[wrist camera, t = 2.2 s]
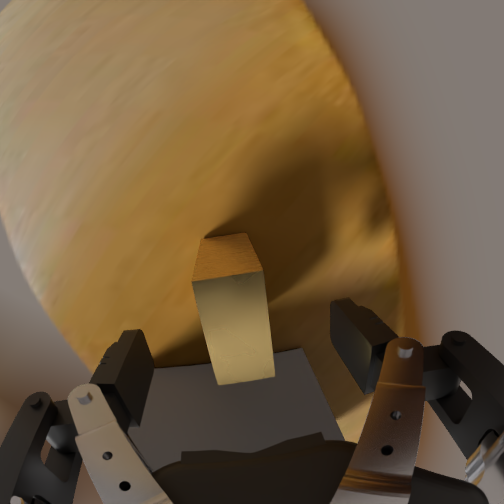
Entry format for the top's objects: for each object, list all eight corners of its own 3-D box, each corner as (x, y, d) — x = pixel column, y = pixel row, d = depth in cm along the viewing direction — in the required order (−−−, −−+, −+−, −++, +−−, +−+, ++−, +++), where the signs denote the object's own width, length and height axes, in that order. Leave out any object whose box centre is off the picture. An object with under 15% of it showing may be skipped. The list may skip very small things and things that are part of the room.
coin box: (134, 369, 17) (100, 488, 7) (302, 347, 18) (357, 467, 8) (181, 454, 21) (179, 539, 11) (303, 438, 22) (331, 522, 12)
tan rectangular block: (201, 239, 15) (191, 281, 9) (246, 232, 15) (263, 270, 10) (216, 317, 17) (218, 385, 11) (256, 311, 17) (275, 376, 11)
